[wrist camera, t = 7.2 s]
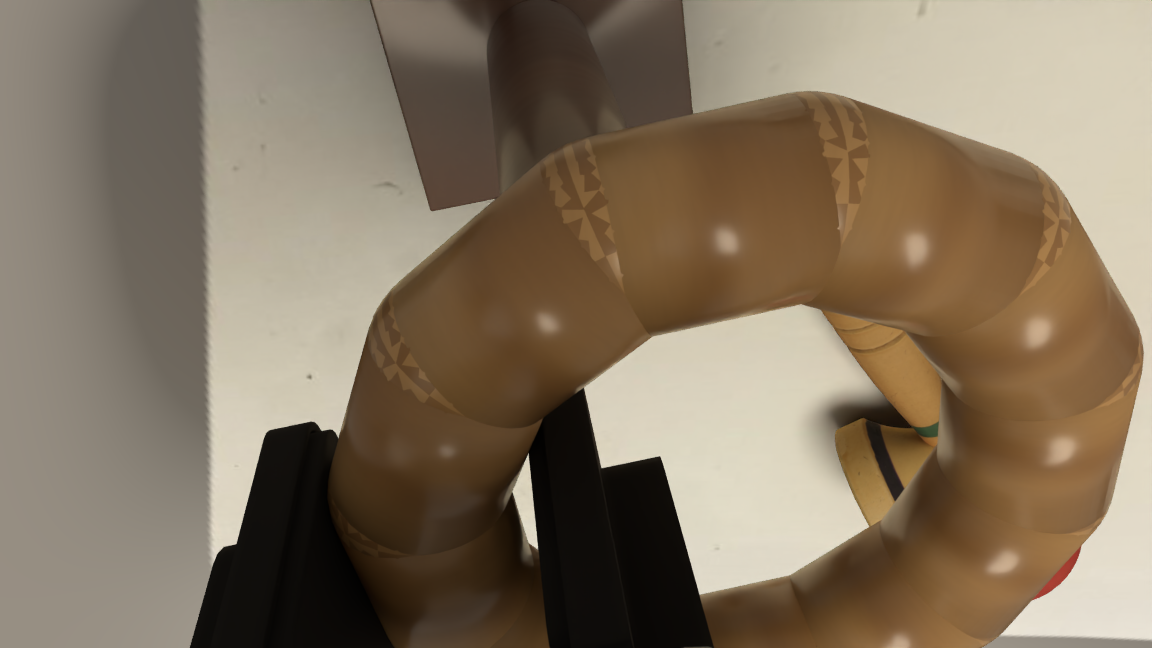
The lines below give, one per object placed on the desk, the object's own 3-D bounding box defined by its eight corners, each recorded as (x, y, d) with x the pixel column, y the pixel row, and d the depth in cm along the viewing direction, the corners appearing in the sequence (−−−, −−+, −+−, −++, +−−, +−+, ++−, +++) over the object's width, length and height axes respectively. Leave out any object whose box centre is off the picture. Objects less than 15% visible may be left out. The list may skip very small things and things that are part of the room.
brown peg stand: (352, -85, 23) (282, 48, 14) (660, -147, 23) (799, -56, 14) (431, 194, 27) (419, 436, 18) (688, 142, 27) (807, 358, 18)
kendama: (677, 268, 31) (899, 581, 38) (740, 335, 26) (987, 689, 33) (860, 132, 31) (1051, 476, 38) (966, 170, 25) (1169, 567, 32)
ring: (221, 183, 9) (171, 289, 7) (1126, -14, 9) (1278, 47, 7) (456, 701, 14) (457, 831, 13) (1025, 579, 14) (1101, 692, 13)
